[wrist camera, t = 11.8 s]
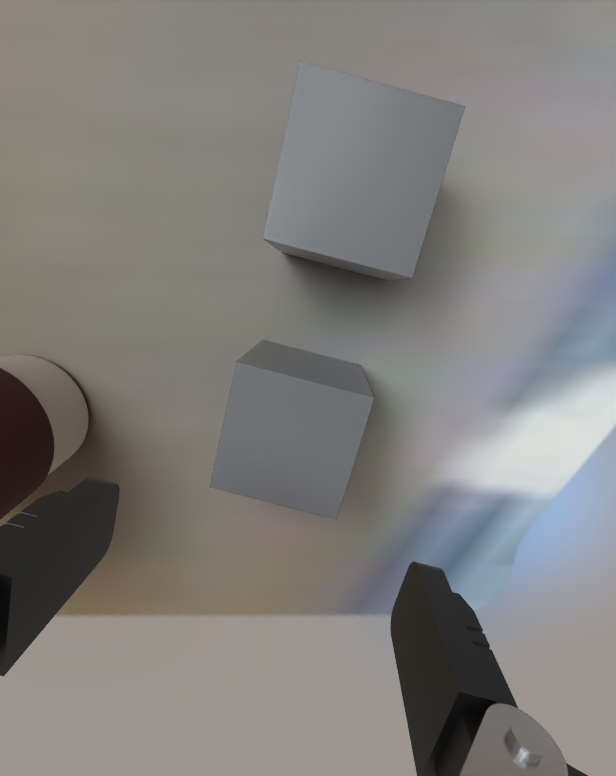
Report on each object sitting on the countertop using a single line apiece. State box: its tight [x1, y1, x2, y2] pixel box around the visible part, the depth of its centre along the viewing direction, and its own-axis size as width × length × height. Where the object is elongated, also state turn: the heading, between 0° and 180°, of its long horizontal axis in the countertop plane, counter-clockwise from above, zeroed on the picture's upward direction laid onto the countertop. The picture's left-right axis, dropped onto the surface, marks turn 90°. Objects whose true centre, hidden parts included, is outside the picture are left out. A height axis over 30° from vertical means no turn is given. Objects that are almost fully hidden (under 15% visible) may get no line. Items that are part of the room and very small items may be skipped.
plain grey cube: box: [210, 340, 374, 519], centre depth 21 cm, size 6×6×7 cm
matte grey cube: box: [263, 62, 465, 280], centre depth 18 cm, size 6×6×7 cm
